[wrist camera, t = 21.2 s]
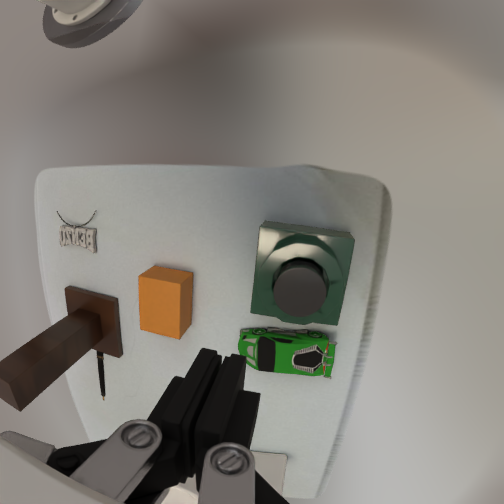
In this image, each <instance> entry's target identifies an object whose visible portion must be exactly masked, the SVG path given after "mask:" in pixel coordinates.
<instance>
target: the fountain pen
mask: <svg viewBox="0 0 504 504" xmlns="http://www.w3.org/2000/svg"><path fill="white" fill-rule="evenodd" d="M97 358H98V371H99V380H100V388H101V395H102V396H103V400H104V396H105V381H104V365H103V360H104V358H103V353H102V352H100V351H97Z"/></svg>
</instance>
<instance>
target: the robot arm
mask: <svg viewBox="0 0 504 504" xmlns="http://www.w3.org/2000/svg"><path fill="white" fill-rule="evenodd" d="M37 1H40V2H42V3H44V4H46V5H48V6H50V7H52V12H53V17H54V19H55V20H56V21H57V22H58V23H60V24H62V25H66V26H73V25H77V24H80V23H82V22H85V21H87V20H88V19H90V18H92V17H93V16H95V15H96V14H97V13H98V12H100V11H101V10H102V9H103V8H104V7H105V6H107V5H108V4H109V2H110V1H111V0H37ZM246 360H247V356H243V355H238V354H231V356H230V357H227V356H225V358H224V361H223V363H222V356H221V355H217V351H216V350H211V349H206V348H202V349H201V350H200V352H199V354H198V355H197V357H196V359H195V361H194V362H193V364H192V366H191V368H190V369H189V371H188V373H187V374H186V376H185V378H182V377H178V376H175V377H174V378H173V379H172V381H171V382H170V384H169V385H168V387H167V389H166V390H165V392H164V393H163V395H162V397H161V398H160V400H159V401H158V403H157V405H156V406H155V408H154V409H153V411H152V413H151V414H150V416H149V417H148V419H147V420H141V419H136V420H130V421H127V422H125V423H124V424H122V425H121V426H120V427H119V428H118V429H117V430H116V431H115V432H114V433H113V434H112V435H111V436H110V437H109V438H108V439H105V440H100V441H96V442H91V443H85V444H80V445H75V446H69V447H63V448H60V449H56V448H55V446H54V445H51V444H47V443H44V442H41V441H38V440H35V439H33V438H30V437H27V436H24V435H22V434H19V433H16V432H12V431H6V432H3V433H1V434H0V504H161V503H162V502H163V500H164V499H165V497H166V496H167V495H168V493H169V491H170V487H173V486H176V485H178V484H179V483H183V484H185V483H186V480H187V478H188V477H190V478H193V477H194V474H195V475H196V490H197V491H198V493H199V497H198V504H289V503H288V502H287V501H286V500H285V499H284V498H283V497H282V496H281V495H280V494H279V493H278V492H277V491H276V490H275V489H274V488H273V487H272V486H271V485H270V484H269V483H268V482H267V481H266V480H265V479H264V478H263V477H262V476H261V475H260V474H259V473H258V472H257V471H256V470H255V459H254V455H253V454H252V452H251V451H250V450H249V449H250V445H251V441H252V437H253V432H254V428H255V423H256V418H257V413H258V407H259V401H260V393H256V392H250V391H245V390H243V388H244V379H245V370H246Z"/></svg>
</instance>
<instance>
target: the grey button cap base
mask: <svg viewBox="0 0 504 504" xmlns="http://www.w3.org/2000/svg"><path fill="white" fill-rule="evenodd" d="M354 242H355V239H354V238H353V236H352V235H351V233H350V232H344V231H337V230H331V229H324V228H317V227H310V226H303V225H295V224H288V223H281V222H273V221H266V220H265V221H264V222H263V223H262V224H261V226H260V228H259V237H258V247H257V256H256V265H255V274H254V283H253V292H252V302H251V311H250V313H254V314H260V315H266V316H272V317H277V318H278V319H280V320H281V321H283V322H288V323H295V324H302V325H306V324H309V323H312V322H313V323H321V324H328V325H336V326H337V325H338V321H339V317H340V313H341V308H342V304H343V299H344V294H345V289H346V285H347V280H348V275H349V269H350V264H351V259H352V253H353V248H354ZM298 260H303V261H308V262H311V263H313V264H314V265H316V266H317V267H318V268H319V269H320V270H321V272H322V273H323V275H324V278H325V285H326V298H325V301H324V303H323V305H322V306H321V308H320V309H319V310H318V311H316V312H315V313H313V314H311V315H309V316H305V317H295V316H291V315H288V314H286V313H285V312H283V311H282V310H281V309H280V308H279V307H278V305H277V304H276V302H275V299H274V295H273V289H274V285H275V281H276V278H277V275H278V273H279V271H280V270H281V269H282V268H283V267H284V266H285V265H286V264H288V263H290V262H293V261H298Z"/></svg>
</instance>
